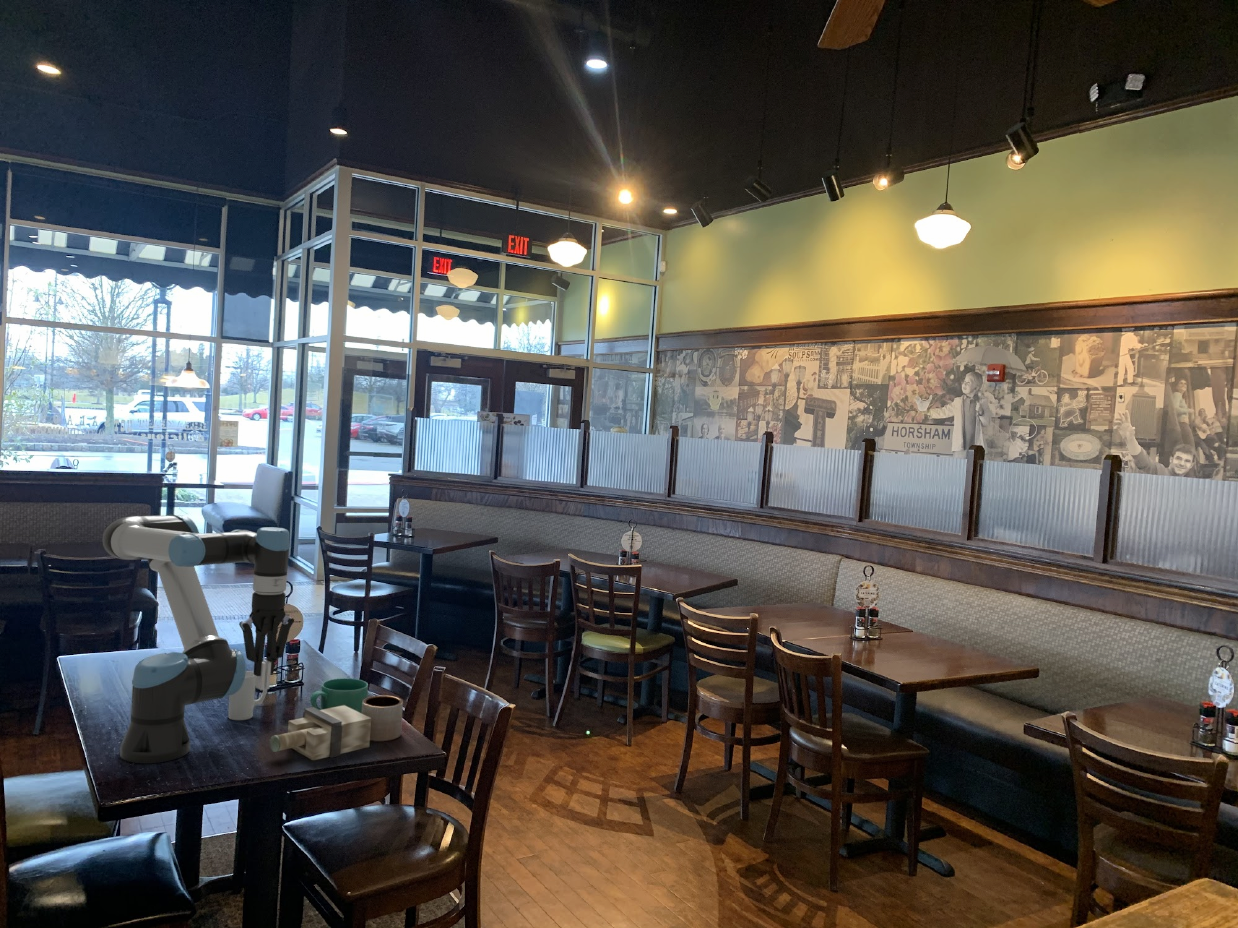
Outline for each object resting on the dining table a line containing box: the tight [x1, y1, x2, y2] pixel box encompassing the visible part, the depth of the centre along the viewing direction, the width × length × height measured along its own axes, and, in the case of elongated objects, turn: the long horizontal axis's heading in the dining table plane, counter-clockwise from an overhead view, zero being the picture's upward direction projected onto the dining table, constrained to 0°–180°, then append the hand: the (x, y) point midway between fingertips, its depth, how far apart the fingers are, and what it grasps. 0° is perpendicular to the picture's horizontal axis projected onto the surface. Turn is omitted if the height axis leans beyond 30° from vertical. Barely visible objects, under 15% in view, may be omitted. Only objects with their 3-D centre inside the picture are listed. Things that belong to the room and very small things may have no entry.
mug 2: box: [309, 677, 369, 713], centre depth 247 cm, size 17×12×10 cm
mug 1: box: [227, 670, 268, 721], centre depth 243 cm, size 10×7×12 cm, turn 127°
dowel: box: [269, 726, 323, 753], centre depth 220 cm, size 14×4×4 cm, turn 139°
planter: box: [362, 694, 404, 743], centre depth 236 cm, size 11×11×10 cm
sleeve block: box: [287, 705, 371, 761], centre depth 226 cm, size 16×15×9 cm
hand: (262, 687), depth 211 cm, fingers closed
